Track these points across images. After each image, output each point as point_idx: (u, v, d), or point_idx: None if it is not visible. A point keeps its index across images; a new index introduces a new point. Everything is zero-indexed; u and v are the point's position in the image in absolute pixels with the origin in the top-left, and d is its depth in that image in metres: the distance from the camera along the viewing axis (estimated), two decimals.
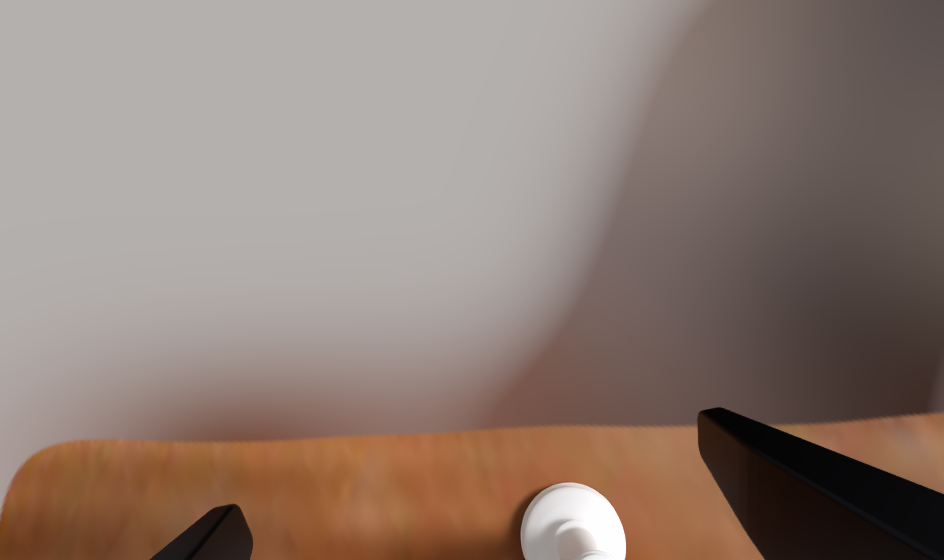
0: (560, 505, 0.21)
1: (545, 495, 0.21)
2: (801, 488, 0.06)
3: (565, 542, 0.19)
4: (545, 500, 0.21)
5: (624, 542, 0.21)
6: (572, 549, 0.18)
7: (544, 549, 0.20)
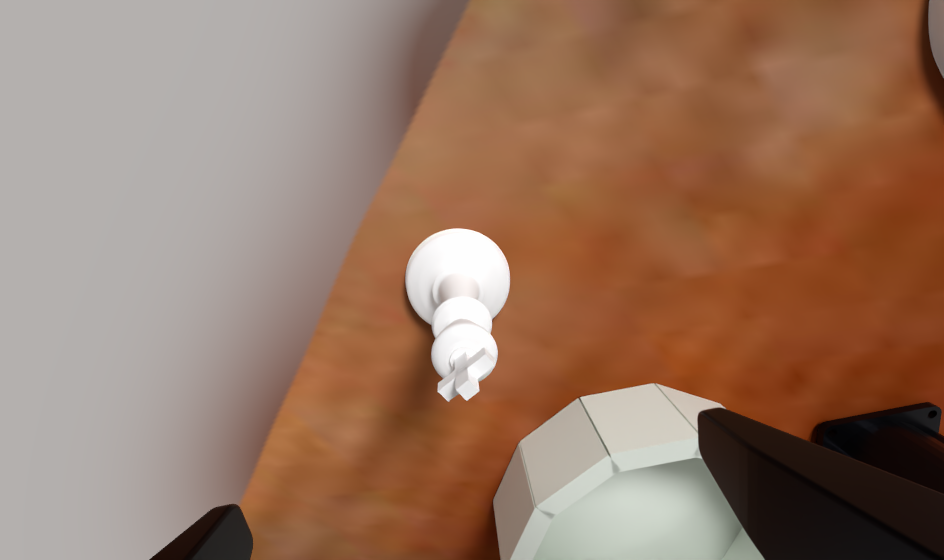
0: (420, 281, 0.20)
1: (406, 287, 0.20)
2: (801, 488, 0.06)
3: None
4: (410, 290, 0.20)
5: (482, 240, 0.20)
6: None
7: None
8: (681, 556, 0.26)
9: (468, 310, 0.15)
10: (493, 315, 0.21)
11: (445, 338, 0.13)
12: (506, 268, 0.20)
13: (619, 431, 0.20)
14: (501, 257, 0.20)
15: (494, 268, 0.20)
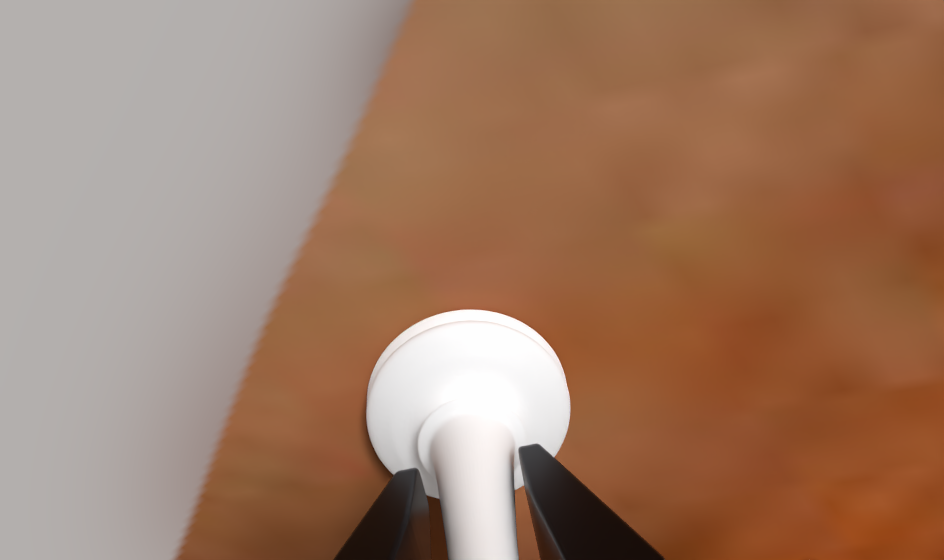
0: (393, 419, 0.10)
1: (368, 427, 0.10)
2: (551, 538, 0.06)
3: None
4: (374, 434, 0.10)
5: (519, 338, 0.10)
6: None
7: None
8: None
9: None
10: None
11: None
12: (565, 388, 0.10)
13: None
14: (556, 368, 0.10)
15: (542, 392, 0.10)
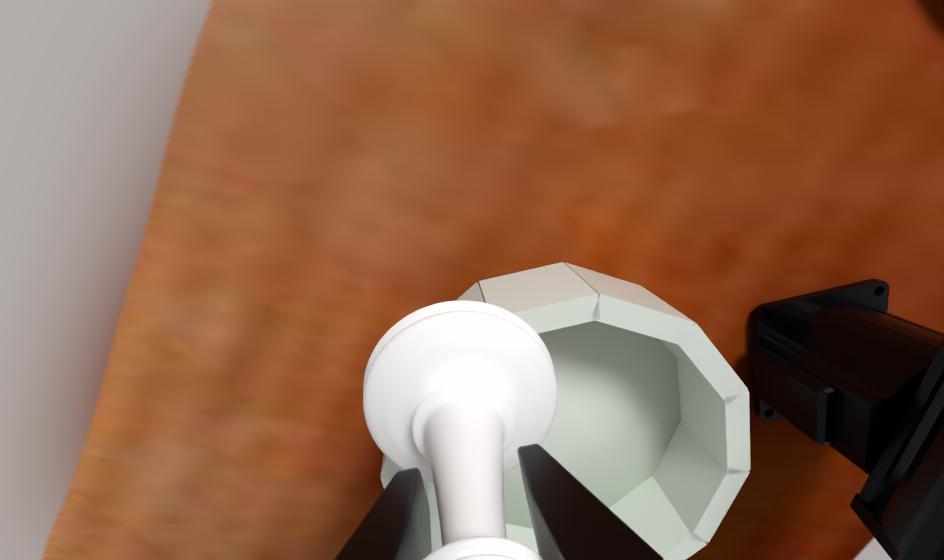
0: (389, 406, 0.10)
1: (365, 414, 0.11)
2: (550, 539, 0.06)
3: None
4: (371, 420, 0.11)
5: (508, 326, 0.10)
6: None
7: None
8: (609, 467, 0.23)
9: None
10: None
11: None
12: (552, 374, 0.11)
13: (509, 300, 0.17)
14: (543, 355, 0.11)
15: (530, 378, 0.10)
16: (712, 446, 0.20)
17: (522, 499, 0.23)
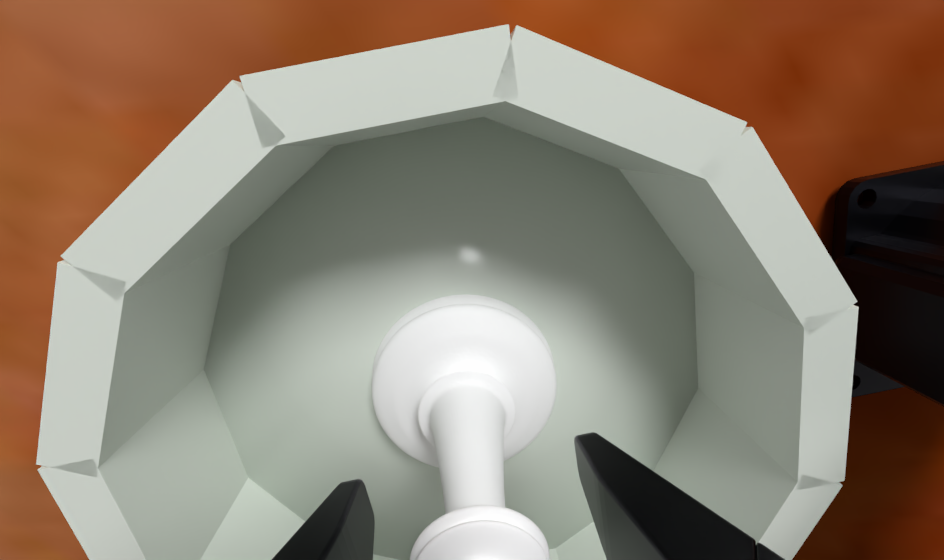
0: (396, 393, 0.11)
1: (373, 401, 0.11)
2: (629, 523, 0.06)
3: None
4: (379, 408, 0.11)
5: (509, 319, 0.11)
6: None
7: None
8: (570, 469, 0.13)
9: (496, 545, 0.06)
10: (527, 443, 0.12)
11: None
12: (551, 364, 0.11)
13: None
14: (542, 346, 0.11)
15: (530, 367, 0.11)
16: (762, 431, 0.10)
17: (419, 518, 0.13)
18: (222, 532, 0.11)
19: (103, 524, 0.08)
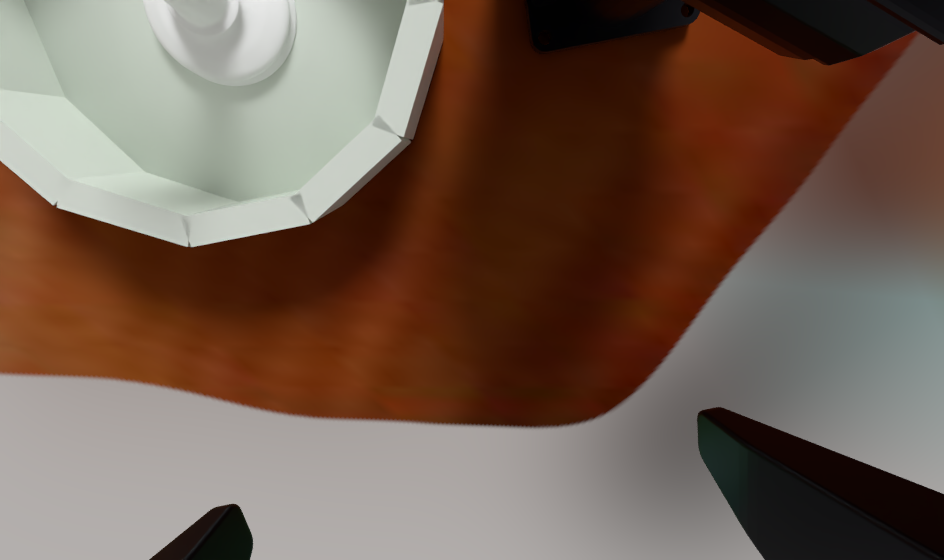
0: None
1: None
2: (801, 488, 0.06)
3: None
4: (148, 11, 0.15)
5: None
6: None
7: (201, 46, 0.15)
8: (324, 105, 0.17)
9: None
10: (270, 53, 0.15)
11: None
12: None
13: None
14: None
15: None
16: None
17: (208, 147, 0.17)
18: (24, 94, 0.14)
19: None
